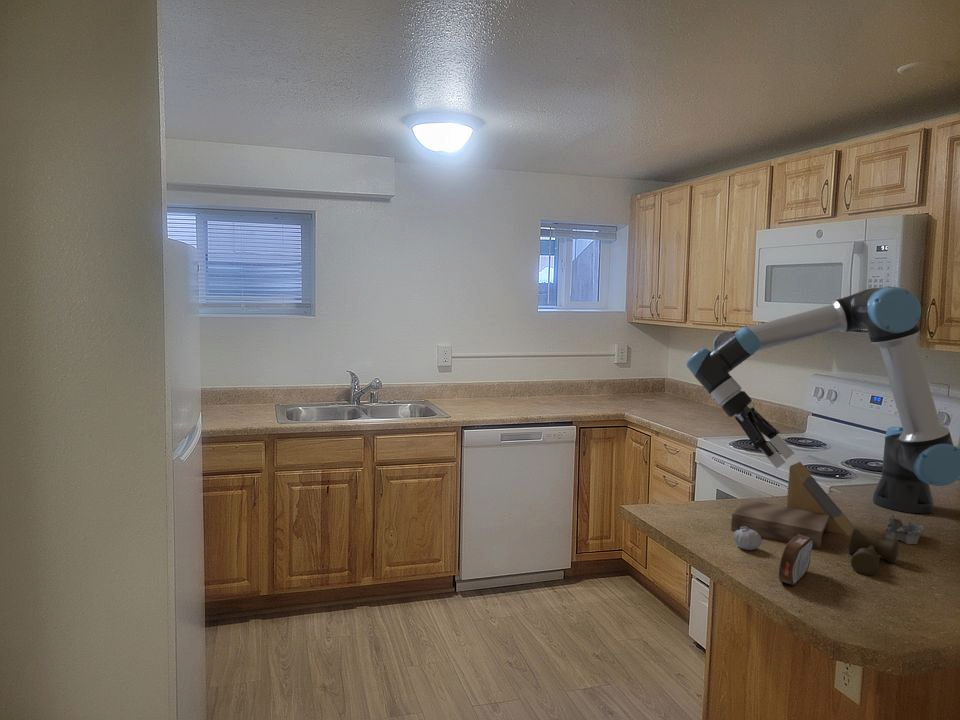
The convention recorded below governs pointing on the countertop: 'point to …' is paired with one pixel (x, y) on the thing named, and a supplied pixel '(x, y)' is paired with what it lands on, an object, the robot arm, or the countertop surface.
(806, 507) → the sandwich container
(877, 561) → the kendama
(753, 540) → the garlic
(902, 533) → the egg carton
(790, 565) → the tin
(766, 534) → the walnut shelf
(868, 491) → the countertop surface
